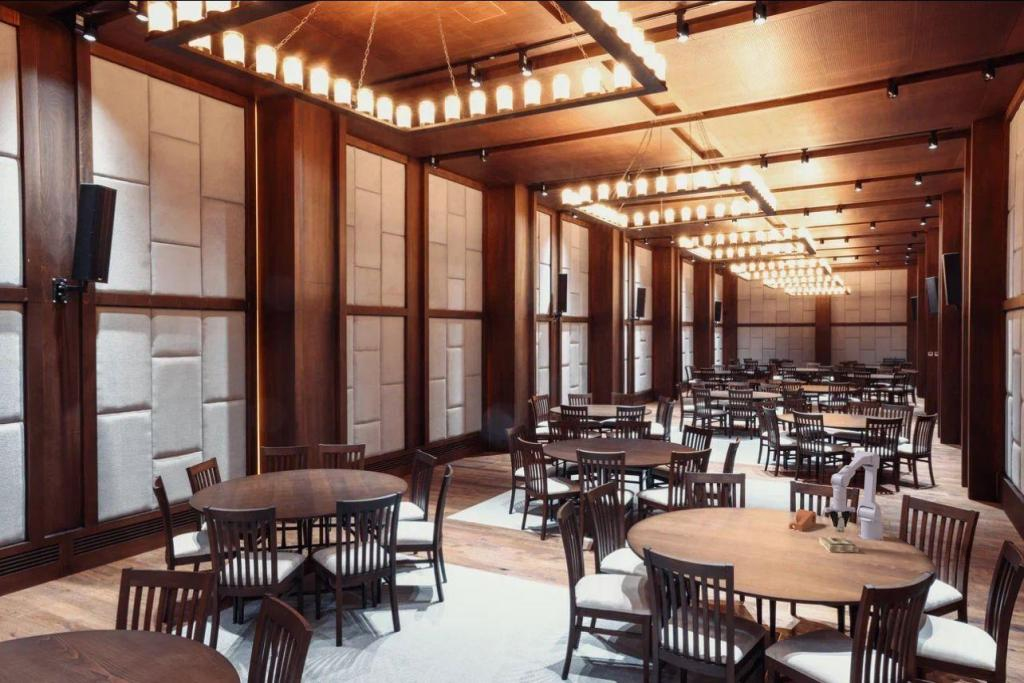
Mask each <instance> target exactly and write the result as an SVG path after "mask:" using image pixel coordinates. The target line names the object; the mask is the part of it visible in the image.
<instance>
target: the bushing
mask: <svg viewBox="0 0 1024 683" xmlns="http://www.w3.org/2000/svg"><path fill="white" fill-rule="evenodd" d="M834 528H835V532H837V533H845V532H846V530H845V529H846V527H845V517H843V516H842V515H838V518H837V527H834Z"/></svg>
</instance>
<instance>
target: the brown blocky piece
mask: <svg viewBox="0 0 1024 683" xmlns="http://www.w3.org/2000/svg"><path fill="white" fill-rule="evenodd" d="M816 523H817V513H816V511H812V510H807V509H801V508H799V509H797V511H796V514H795V522H791V523H789V525H788V528H789V529H790V530H791V529H794V530H793V531H796V530H799V531H798V532H801V531H802V532H804V531H806V530H808V529H810V528H812V527H814V526H815V525H816ZM813 525H814V526H813ZM793 526H794V527H793ZM811 526H812V527H811ZM809 527H810V528H809ZM807 528H808V529H807ZM805 529H806V530H805ZM803 530H804V531H803Z"/></svg>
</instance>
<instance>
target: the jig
mask: <svg viewBox="0 0 1024 683" xmlns="http://www.w3.org/2000/svg"><path fill="white" fill-rule="evenodd" d="M818 541H819V542H818V544H819V543H820V544H819V545H821V546H822V547H823V546H824V547H825V548H826V551H828V552H829V553H842V552H854V553H853V554H859V546H858V544H856V543H854V542H853V541H852V540H850V539H849V538H848V537H829V536H828V537H823V536H822V537H820V536H819V537H818ZM824 547H823V548H824ZM825 548H824V549H825Z"/></svg>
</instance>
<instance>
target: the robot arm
mask: <svg viewBox="0 0 1024 683" xmlns="http://www.w3.org/2000/svg"><path fill="white" fill-rule="evenodd" d="M880 458H881V457H880V456H879V454H878V453H877V452H870V451H864V450H859V449H858V450H857V451H856V452H855V453H854V455H853V459H852V461H851V462H850V463H849V465H847V464H846V465H844V466H843V467H842V468H841V469H840V470H839V471H838V472H837V473H834V474H832V475H831V478H830V484H831V488H832V489H833V491H832V494H833V496H832V498H833V499H832V500H833V502H832V503H833V506H828V507H824V509H823V511H824V512H825V513H828V514H829V517H830V519H831V521H832V526H833V527H834V528H835V527H837V518H838V516H839V513H841V516H843V517H845V528H846V527H847V524H848V522H849V519H850V517H851V516H852V513H856V515H857V517H858V518H859V520H860V534H859V533H858V534H857V535H858V536H859V537H860V538H862V539H863V540H869V539H878V541H884V526H883V522H882V521H881V518H882V510H881V505H879V504H878V503H877V502H876V492H877V491H876V489H877V488H876V487H877V474H878V473H877V472H878V469H880ZM861 466H862V467H863V468H864V470H865V473H864V488H863V490H864V491H863V500H862V501H860V502H859V503H858V507H857V508H855V507H854V506H847V487H848V486H849V484H850V481H851V479H852V478H853V477H854V475H855V474H856V471H857V469H859V468H860V467H861ZM856 509H857V510H856ZM880 539H882V540H880Z"/></svg>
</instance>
